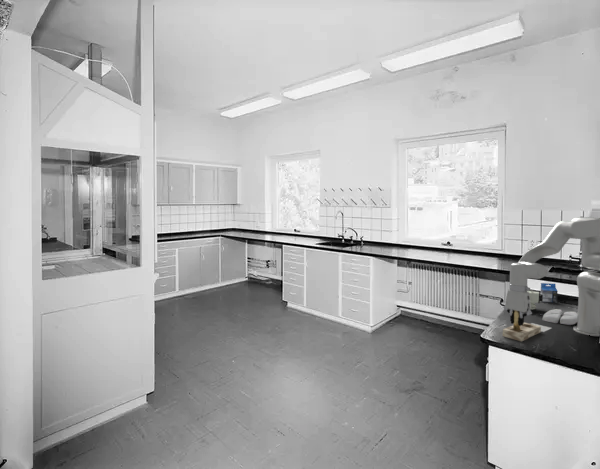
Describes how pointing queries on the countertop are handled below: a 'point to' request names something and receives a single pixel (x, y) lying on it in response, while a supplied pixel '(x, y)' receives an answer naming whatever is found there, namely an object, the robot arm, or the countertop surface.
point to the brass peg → (516, 320)
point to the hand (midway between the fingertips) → (516, 323)
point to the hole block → (522, 332)
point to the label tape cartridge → (549, 292)
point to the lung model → (555, 315)
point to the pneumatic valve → (535, 298)
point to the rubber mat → (543, 327)
